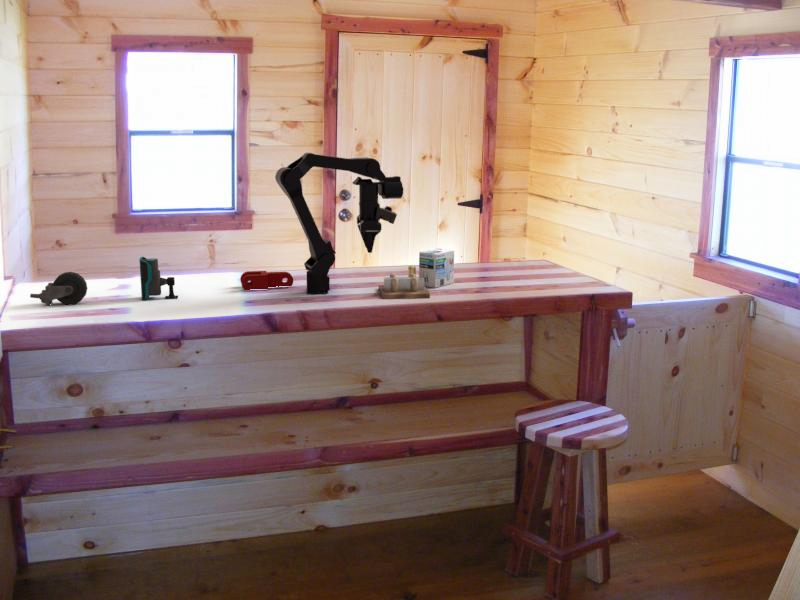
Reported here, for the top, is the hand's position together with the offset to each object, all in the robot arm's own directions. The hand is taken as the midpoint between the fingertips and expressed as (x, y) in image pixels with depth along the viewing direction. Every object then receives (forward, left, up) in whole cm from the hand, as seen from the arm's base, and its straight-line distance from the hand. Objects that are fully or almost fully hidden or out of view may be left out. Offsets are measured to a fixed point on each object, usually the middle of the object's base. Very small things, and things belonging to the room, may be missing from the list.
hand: (368, 250), depth 279 cm
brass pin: (+14, +4, -12) cm, 19 cm away
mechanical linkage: (-31, +3, -12) cm, 34 cm away
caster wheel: (-89, -15, -12) cm, 91 cm away
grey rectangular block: (+10, -8, -11) cm, 17 cm away
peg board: (+10, -8, -12) cm, 18 cm away
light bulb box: (+22, +5, -12) cm, 26 cm away
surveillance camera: (-62, -9, -12) cm, 64 cm away
